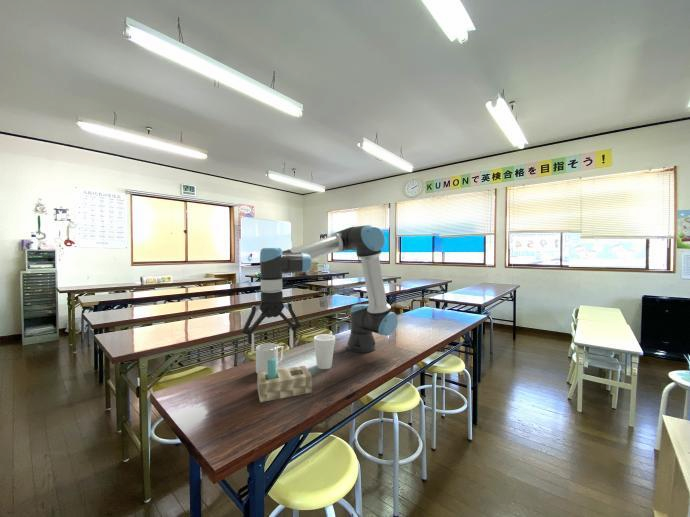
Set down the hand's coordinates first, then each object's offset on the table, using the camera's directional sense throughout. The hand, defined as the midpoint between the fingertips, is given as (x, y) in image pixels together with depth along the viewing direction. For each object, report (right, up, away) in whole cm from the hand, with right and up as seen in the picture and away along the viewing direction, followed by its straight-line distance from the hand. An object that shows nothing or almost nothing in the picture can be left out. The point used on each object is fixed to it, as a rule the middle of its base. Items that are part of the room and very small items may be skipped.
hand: (272, 349), depth 101 cm
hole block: (+4, -16, +2) cm, 16 cm away
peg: (0, -16, 0) cm, 16 cm away
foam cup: (+17, -15, +24) cm, 33 cm away
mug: (-6, -15, +18) cm, 24 cm away
